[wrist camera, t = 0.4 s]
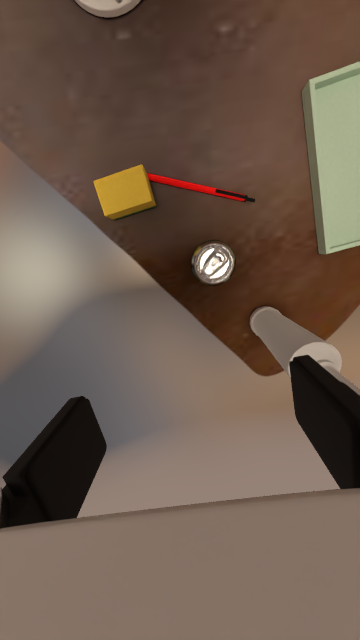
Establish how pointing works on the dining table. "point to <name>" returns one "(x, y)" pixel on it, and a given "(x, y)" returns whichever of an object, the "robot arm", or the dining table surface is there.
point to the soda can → (213, 263)
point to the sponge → (125, 193)
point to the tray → (334, 156)
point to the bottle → (295, 342)
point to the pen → (199, 188)
